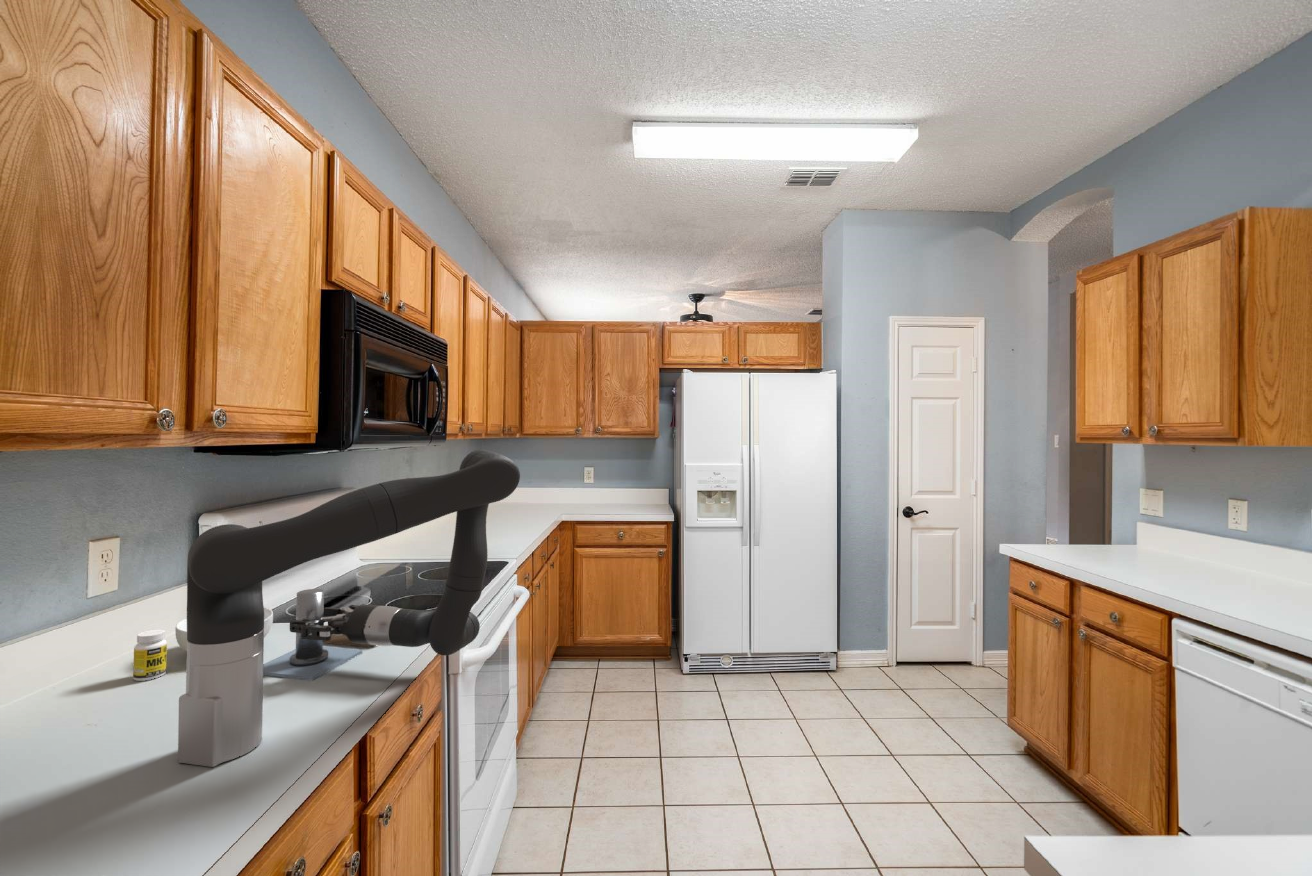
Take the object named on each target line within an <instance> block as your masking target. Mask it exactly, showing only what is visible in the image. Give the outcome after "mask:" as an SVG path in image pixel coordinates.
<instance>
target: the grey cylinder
mask: <svg viewBox="0 0 1312 876" xmlns="http://www.w3.org/2000/svg"><path fill="white" fill-rule="evenodd" d="M324 605H325V590H324V589H322V588H308V589H303V590H300V591H298V592H296V610H295V611H296V612H295V614H296V617H295V620H300V621H318V620H320V618H322V617H324V608H325V606H324ZM323 646H324V642H323V640H307V639H301V633H295V649H296V653H295V654H293V655H292V656H291V657H290V665H292V666H297V667H303V666H311V665H315V664H319V663H321V662H324V661H325V660H327V659H328V651H327V650H325V649H323Z"/></svg>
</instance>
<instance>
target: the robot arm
mask: <svg viewBox="0 0 1312 876" xmlns="http://www.w3.org/2000/svg"><path fill="white" fill-rule="evenodd" d="M520 478H521V472H520V469H519V467H518V465H517V464H516V463H515V462H514V461H513V460H512V459H510V458H509V457H507V456H505V455H503V454H500V453H499V452H495V451H491V450H488V449H481V448H480V449H476V450H472V451H471V452H469V453H467V455H466V456H465V457H464V458H463V460H462V461H461V463H460V466H459V470H456V471H453V472H450V473H446V474H441V475H434V476H422V477H419V476H418V477H411V478H401V479H392V480H387V481H383V482H379V483H376V484H372V485H369V486H365V487H362V488H358V489H355V490H352V491H350V492H347V493H346V492H345V493H344V494H341V495H338V496H337V497H335V498H333V499H330V500H329V501H326V502H324V503H323V504H321V505H318V506H316V507H315V508H313V509H311V510H308V511H307V512H304V513H302V514H299V515H296V516H293V517H290V518H286V519H283V520H280V521H275V522H271V523H268V524H267V523H266V524H264V525H259V526H258V525H257V526H253V527H246V526H243V525H239V524H234V523H233V524H231V523H230V524H229V523H227V524H221V525H220V524H219V525H217V526H214V527H210V528H208V529H207V530H205V531H204V532H202V533H200V534H199V535H198V536H197V537H196V538H195V539H194V541H193V542H192V543H191V546H190V547H189V549H188V550H189V551H188V554H187V562H186V563H187V566H186V568H187V569H186V571H187V572H186V573H187V574H186V575H187V576H186V581H187V582H186V590H187V591H186V618H187V651H186V667H185V670H186V672H185V673H186V675H185V678H186V679H185V681H186V682H185V693H184V694H181V695H180V696H179V698H178V724H177V725H178V726H177V728H178V730H177V733H178V734H177V738H178V739H177V762H178V763H182V764H189V765H196V766H203V767H209V768H214V767H216V766H218V765H220V764H221V763H225V762H228V761H231V760H233V759H237V758H239V756H240V757H242V756H244V755H246V754H248V753H250V752H251V751H253V750H254V749H255V747H256V748H257V747H258V746H259V745H260V744H261V743H262V740H263V712H264V711H263V704H264V702H263V701H264V700H263V699H264V697H263V696H264V695H263V693H264V675H263V664H264V647H265V645H264V644H265V643H264V640H265V637H264V608H265V606H264V599H263V596H264V595H263V582H264V581H266V580H268V579H270V578H272V577H274V576H277V575H280V574H282V573H283V572H286V571H289V570H291V569H293V568H296V567H297V566H300V565H303V564H306V563H307V562H310V561H313V560H317V559H319V558H323V557H326V556H330V555H333V554H334V555H335V554H337V553H340V552H344V551H347V550H350V549H354V548H357V547H360V546H363V545H366V544H370V543H373V542H377V541H378V540H381V539H384V538H386V537H390V536H393V535H396V534H399V533H401V532H404V531H407V530H408V529H412V528H415V527H417V526H420V525H424V524H425V523H426V524H427V523H429V522H431V521H434V520H437V519H439V518H442V517H446V516H447V515H450V514H453V513H456V516H455V517H456V518H455V528H454V529H455V530H454V536H453V537H454V538H453V544H452V551H451V557H450V561H449V565H448V569H447V570H448V571H447V573H446V574H447V575H446V579H445V585H444V590H443V593H442V596H441V597H440V600H439V602H438V604H437V607H436V609H433V610H432V609H431V610H419V609H413V608H412V609H411V608H410V609H409V608H401V607H400V608H399V607H396V606H390V605H389V606H387V605H377V604H376V605H375V604H365V603H364V604H361V605H358V604H350V605H348V607H347V606H346V607H345V606H342V607H340V608H338V607H328V606H327V607H324V617H322V618H320V620H318V621H300V620H296V619H293V620H291V621H289V632H290V633H295V634H296V633H301V639H307V640H323V641H328V640H331V635H336V636H340V635H346V636H347V637H348V639H349V640H350V641H351V642H352V643H357V644H368V645H378V646H381V647H382V646H383V647H388V646H389V647H390V646H391V647H393V646H397V647H406V648H407V647H408V648H416V647H417V648H418V647H421V646H425V645H428V644H430V647H431V650H433V652H434V653H436V654H437V655H440V656H450V655H453V654H456V653H457V652H459V651H460V650H461V649H463V648H465V647H466V646H468V645H469V644H471V643H472V642H474V640H475V639H476V638H477V637H478V635H479V632H480V621H479V618H478V617H477V616H476V615H475V614H474V613H473V612H472V611H471V610H472V608H473V607H474V605H476V603H477V602H478V601H479V600H480V598H481V595H482V591H483V586H484V583H485V578H486V572H487V567H488V542H487V541H488V539H487V516H488V509H489V504H493V503H497V502H500V501H503V500H504V499H506V498H508V497H510V495H512V494H513V493H514V491H516V489H517V487H518V486H519V483H520V480H521V479H520ZM325 622H327V624H325ZM327 625H328V626H327Z"/></svg>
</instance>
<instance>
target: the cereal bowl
mask: <svg viewBox="0 0 1312 876" xmlns="http://www.w3.org/2000/svg"><path fill="white" fill-rule="evenodd" d="M273 622H274V613H273V610H272V609H271V608H267V607H264V638H265V637H267V635H268V634H269V633H270V631H271V629H272V627H273ZM175 639H176V643H177V644H178V645H179V647H180V648H181V649H183V650H184V651H185V652H187V617H186V618H184V619H181V620H180V621H178V623H177V624H176V625H175Z"/></svg>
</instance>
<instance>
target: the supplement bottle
mask: <svg viewBox="0 0 1312 876" xmlns="http://www.w3.org/2000/svg"><path fill="white" fill-rule="evenodd" d="M165 633H166V632H165V630H164V629H150V630H146V631H142V632H140V633H138V634H137V635H136V643H137V644H136V645H135V646H134V647H133V665H132V666H133V669H132V671H133V674H132V675H133V677H132V678H133V680H134V681H137V682H145V680H147V681H152V680H155V679H154V678H156V679H159V678H161V677H162V676H165V674H166V673H167V660H168V659H167V657H168V655H167V654H168V653H167V652H168V642H167V640H166V639H165V638H166V634H165ZM160 676H161V677H160ZM158 677H159V678H158ZM151 679H152V680H151Z"/></svg>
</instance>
